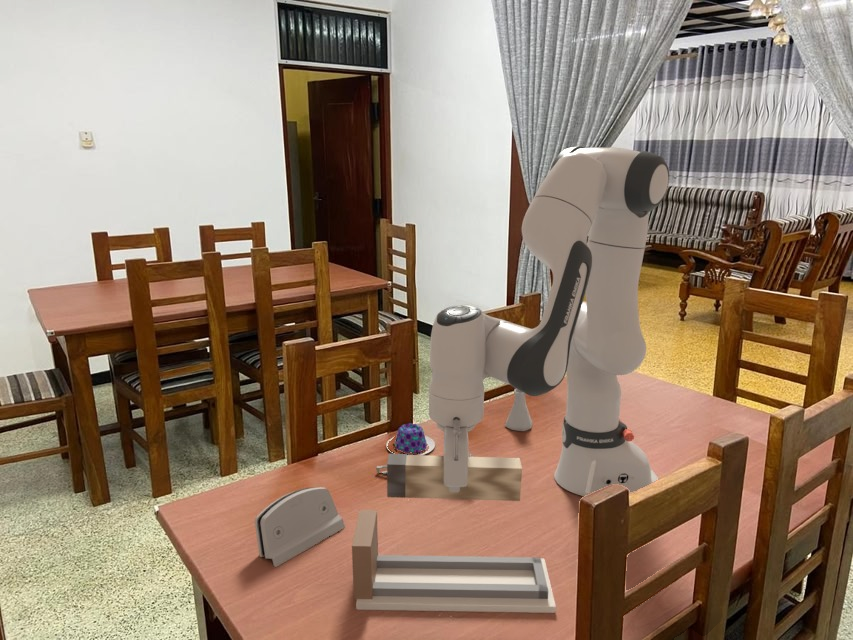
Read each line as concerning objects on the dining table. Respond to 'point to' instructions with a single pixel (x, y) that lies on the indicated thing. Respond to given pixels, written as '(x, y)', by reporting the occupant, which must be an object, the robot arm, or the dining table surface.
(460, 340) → the robot arm
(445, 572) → the slot board
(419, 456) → the wooden block
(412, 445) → the pudding
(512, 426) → the flask
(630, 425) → the dining table surface
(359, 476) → the dining table surface
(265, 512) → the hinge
